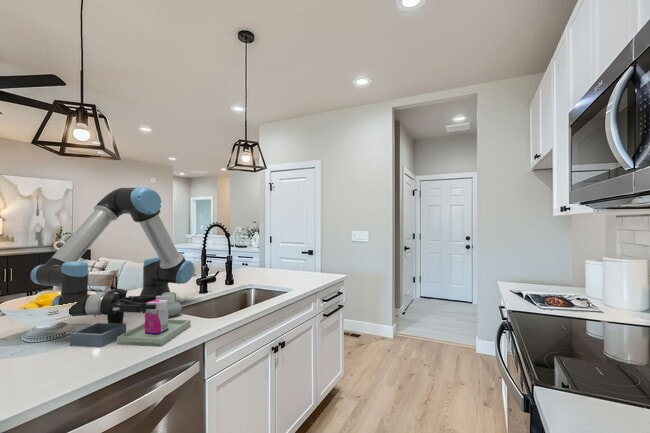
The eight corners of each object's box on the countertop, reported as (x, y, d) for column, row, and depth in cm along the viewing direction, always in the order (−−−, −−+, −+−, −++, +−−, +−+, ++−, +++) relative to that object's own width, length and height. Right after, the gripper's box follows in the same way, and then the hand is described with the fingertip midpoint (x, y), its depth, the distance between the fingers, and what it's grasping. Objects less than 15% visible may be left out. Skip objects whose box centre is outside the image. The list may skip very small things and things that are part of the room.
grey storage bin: (97, 333, 116) (97, 322, 116) (125, 334, 115) (126, 323, 115) (69, 345, 104) (70, 333, 105) (101, 347, 104) (101, 335, 104)
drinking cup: (115, 329, 120) (116, 278, 120) (98, 328, 121) (100, 277, 121) (131, 323, 127) (132, 275, 127) (115, 321, 129) (116, 274, 129)
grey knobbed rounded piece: (151, 317, 135) (151, 294, 136) (164, 311, 144) (165, 290, 144) (172, 319, 133) (173, 296, 133) (185, 313, 141) (185, 292, 141)
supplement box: (155, 328, 119) (156, 298, 119) (168, 329, 118) (169, 299, 118) (143, 333, 113) (144, 302, 114) (157, 335, 112) (158, 303, 112)
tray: (153, 324, 126) (153, 318, 126) (190, 326, 125) (190, 320, 125) (116, 344, 106) (116, 336, 106) (160, 346, 105) (161, 339, 105)
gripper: (117, 306, 123) (178, 304, 127) (87, 324, 102) (160, 321, 106) (118, 287, 123) (178, 286, 127) (87, 302, 102) (161, 299, 106)
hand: (170, 302), depth 117 cm, fingers open, 9 cm apart
